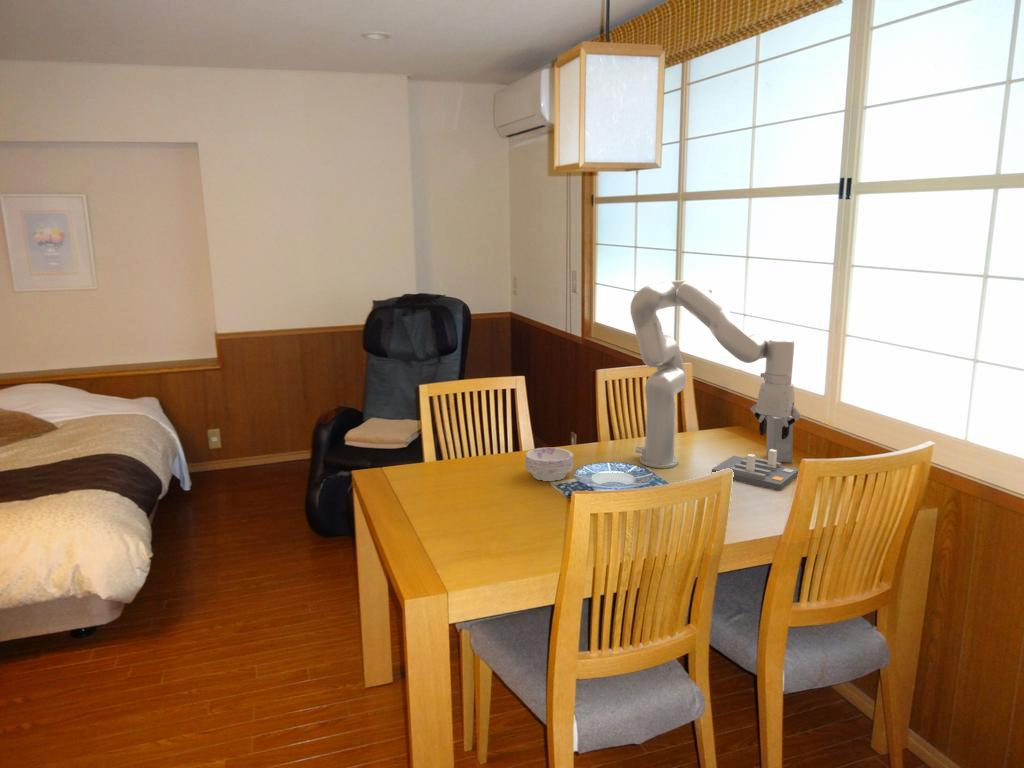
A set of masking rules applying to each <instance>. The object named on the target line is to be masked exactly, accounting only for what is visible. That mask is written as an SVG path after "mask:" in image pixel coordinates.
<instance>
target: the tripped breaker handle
mask: <svg viewBox="0 0 1024 768" xmlns="http://www.w3.org/2000/svg"><path fill="white" fill-rule="evenodd" d="M746 457H747V462H746V470H748V471H753V472H754V471H755V458H757V456H756V454H752V453H748V454H747V455H746Z"/></svg>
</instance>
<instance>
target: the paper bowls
mask: <svg viewBox="0 0 1024 768" xmlns="http://www.w3.org/2000/svg"><path fill="white" fill-rule="evenodd" d="M524 460H525V462H524V465H525V466H524V467H525V470H526V471H527V472H529V473H531V475H532V477H533V478H534V479H535V480H538V481H540V480H543V481H542V482H546V481H553V482H556V481H555V480H559V481H562V480H563V479H564V478H565V477H566V476H567V474H568V473H570V472H572V471H573V469H574V454H573V452H572V451H570V450H568V449H565V448H559V447H552V446H551V447H550V446H549V447H537V448H533V449H530V450H528V451H526V453H525V459H524ZM561 479H562V480H561Z"/></svg>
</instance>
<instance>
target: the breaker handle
mask: <svg viewBox="0 0 1024 768" xmlns="http://www.w3.org/2000/svg"><path fill="white" fill-rule="evenodd" d="M776 459H777V450H774V449H770V450H769V453H768V456H767V460H768V465H771V466H776Z"/></svg>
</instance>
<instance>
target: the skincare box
mask: <svg viewBox="0 0 1024 768" xmlns="http://www.w3.org/2000/svg"><path fill="white" fill-rule="evenodd" d="M792 418H794V416H793V415H790V420H791V419H792ZM766 421H767V429H766V452H765V453H766V454H765V455H766V457H768V453H769V450H770V449H774V450H777V459H776V462H778V463H793V451H794V449H793V443H794V442H793V441H794V435H793V434H794V423H792V424H791V425H790V428H789V436H788V437H787V438H785V439H782V438H781V437H782V427H783V426H784V423H783V419H782V418H778V417H772V416H767V417H766Z"/></svg>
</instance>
